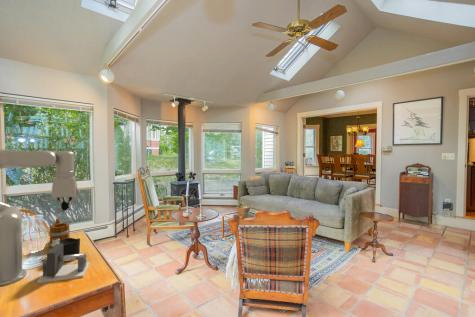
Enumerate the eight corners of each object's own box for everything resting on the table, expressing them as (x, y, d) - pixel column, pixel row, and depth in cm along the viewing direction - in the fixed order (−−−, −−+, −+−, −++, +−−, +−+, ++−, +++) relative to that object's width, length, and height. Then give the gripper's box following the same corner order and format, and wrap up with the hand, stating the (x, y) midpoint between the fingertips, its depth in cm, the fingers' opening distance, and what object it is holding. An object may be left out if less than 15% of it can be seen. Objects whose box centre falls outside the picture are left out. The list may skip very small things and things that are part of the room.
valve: (48, 250, 139) (49, 258, 130) (48, 239, 139) (49, 246, 129) (62, 247, 143) (64, 254, 134) (62, 236, 143) (64, 243, 134)
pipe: (42, 276, 110) (42, 260, 110) (47, 271, 115) (47, 255, 114) (83, 271, 116) (83, 255, 115) (86, 266, 120) (86, 251, 120)
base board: (36, 283, 106) (36, 281, 106) (48, 269, 118) (48, 267, 118) (83, 277, 112) (83, 274, 112) (90, 264, 124) (90, 262, 124)
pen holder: (78, 252, 137) (78, 236, 136) (81, 258, 130) (81, 240, 130) (58, 257, 130) (57, 240, 130) (60, 264, 123) (60, 245, 123)
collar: (47, 276, 108) (46, 253, 107) (56, 265, 118) (56, 243, 118) (54, 275, 109) (54, 252, 109) (63, 264, 119) (63, 243, 119)
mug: (50, 251, 138) (50, 226, 137) (46, 242, 149) (46, 219, 149) (72, 245, 146) (72, 222, 145) (67, 238, 157) (66, 216, 156)
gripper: (44, 176, 115) (44, 212, 116) (79, 175, 120) (79, 210, 121) (50, 174, 122) (50, 208, 123) (83, 173, 127) (83, 207, 128)
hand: (65, 209), depth 122 cm, fingers closed
